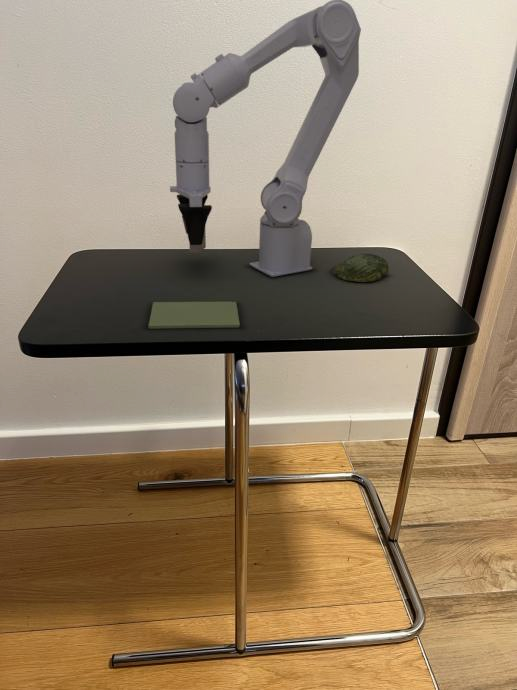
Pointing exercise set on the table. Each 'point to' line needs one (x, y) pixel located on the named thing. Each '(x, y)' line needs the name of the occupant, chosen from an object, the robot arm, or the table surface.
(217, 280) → the table surface
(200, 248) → the lighter
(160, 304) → the mat
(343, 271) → the green rounded dome
